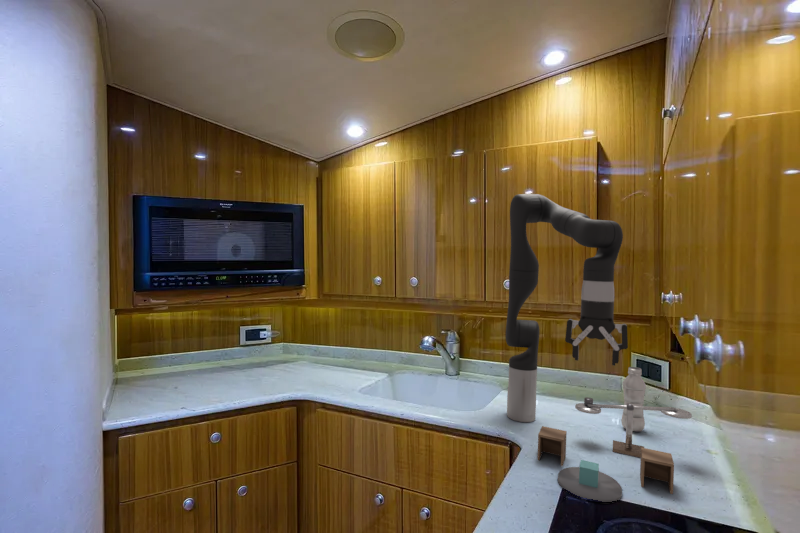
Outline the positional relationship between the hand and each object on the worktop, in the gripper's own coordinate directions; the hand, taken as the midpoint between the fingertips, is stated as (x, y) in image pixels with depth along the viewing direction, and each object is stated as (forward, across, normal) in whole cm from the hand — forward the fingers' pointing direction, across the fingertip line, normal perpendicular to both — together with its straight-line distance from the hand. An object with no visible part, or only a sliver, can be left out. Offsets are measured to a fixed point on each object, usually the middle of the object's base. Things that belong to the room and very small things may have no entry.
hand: (594, 362), depth 106 cm
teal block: (+27, 0, -8) cm, 28 cm away
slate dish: (+28, 0, -8) cm, 29 cm away
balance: (+28, +9, +18) cm, 35 cm away
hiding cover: (+28, -10, +2) cm, 30 cm away
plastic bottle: (+28, +10, +36) cm, 47 cm away
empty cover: (+28, +14, +2) cm, 32 cm away
